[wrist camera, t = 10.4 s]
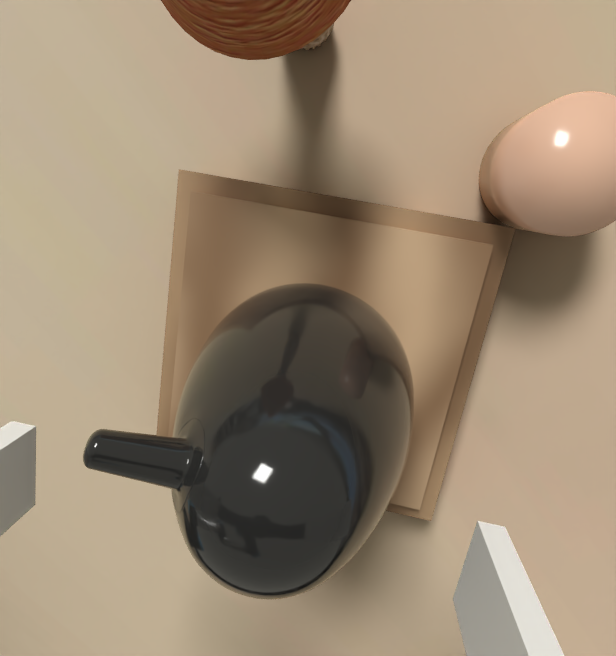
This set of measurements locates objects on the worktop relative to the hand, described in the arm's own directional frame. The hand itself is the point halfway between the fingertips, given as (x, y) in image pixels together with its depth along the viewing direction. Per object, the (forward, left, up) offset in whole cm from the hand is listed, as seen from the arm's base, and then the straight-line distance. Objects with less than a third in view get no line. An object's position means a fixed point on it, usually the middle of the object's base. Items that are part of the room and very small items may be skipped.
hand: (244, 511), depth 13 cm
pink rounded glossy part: (+10, +12, -16) cm, 23 cm away
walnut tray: (0, 0, -16) cm, 16 cm away
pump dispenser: (0, 0, -13) cm, 13 cm away
